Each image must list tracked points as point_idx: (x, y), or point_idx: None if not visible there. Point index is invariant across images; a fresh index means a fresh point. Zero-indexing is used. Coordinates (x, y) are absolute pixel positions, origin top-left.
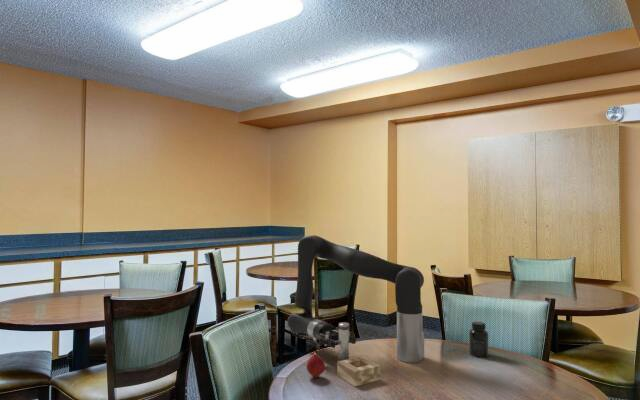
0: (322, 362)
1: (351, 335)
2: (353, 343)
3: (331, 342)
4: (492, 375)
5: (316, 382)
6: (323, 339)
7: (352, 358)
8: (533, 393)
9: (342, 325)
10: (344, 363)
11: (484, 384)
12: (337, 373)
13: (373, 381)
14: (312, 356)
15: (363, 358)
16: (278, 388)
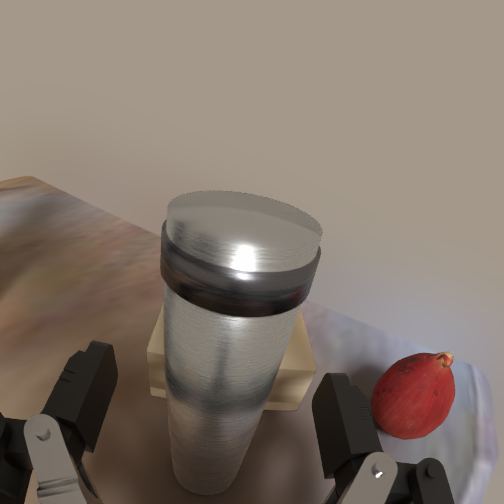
0: (398, 361)
1: (23, 420)
2: (116, 377)
3: (353, 389)
4: (7, 213)
5: None
6: (399, 484)
7: None
8: (55, 189)
9: (293, 212)
10: (292, 341)
11: (52, 210)
12: (298, 403)
13: None
14: (450, 370)
15: (162, 331)
16: (485, 392)
